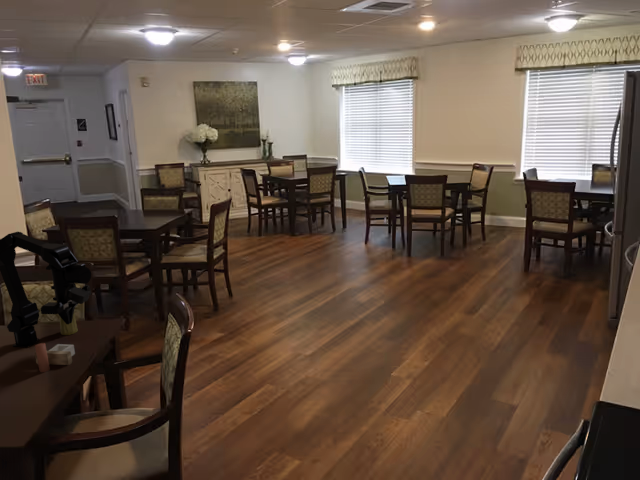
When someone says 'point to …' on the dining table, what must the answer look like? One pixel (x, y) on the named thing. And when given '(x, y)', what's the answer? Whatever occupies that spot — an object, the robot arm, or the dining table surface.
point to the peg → (42, 357)
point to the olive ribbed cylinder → (68, 326)
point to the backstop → (58, 357)
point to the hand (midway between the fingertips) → (69, 323)
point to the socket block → (64, 348)
